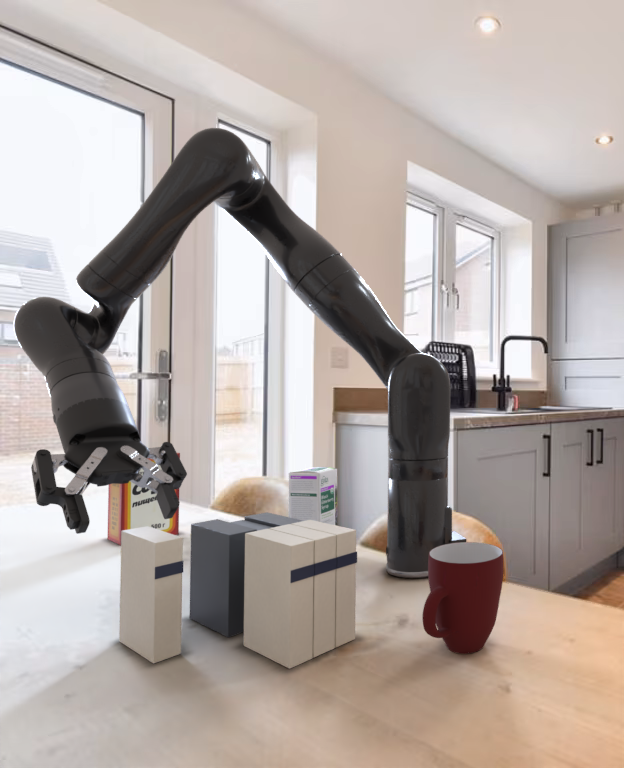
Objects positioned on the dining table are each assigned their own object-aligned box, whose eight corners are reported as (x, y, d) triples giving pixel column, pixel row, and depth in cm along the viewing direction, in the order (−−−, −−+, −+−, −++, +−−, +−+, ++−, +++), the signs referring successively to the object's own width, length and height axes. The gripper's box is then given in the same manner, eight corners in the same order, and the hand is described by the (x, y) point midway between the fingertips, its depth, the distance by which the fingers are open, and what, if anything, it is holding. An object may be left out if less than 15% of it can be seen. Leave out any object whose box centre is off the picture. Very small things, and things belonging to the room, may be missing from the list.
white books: (309, 620, 64) (310, 519, 65) (356, 639, 59) (357, 529, 60) (243, 645, 58) (244, 533, 58) (289, 669, 53) (291, 546, 53)
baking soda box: (164, 529, 108) (165, 448, 108) (178, 534, 104) (180, 451, 104) (107, 539, 100) (109, 452, 100) (120, 545, 96) (122, 455, 97)
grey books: (266, 593, 73) (267, 509, 73) (306, 609, 68) (307, 518, 68) (189, 618, 65) (190, 523, 65) (228, 637, 60) (229, 535, 60)
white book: (146, 632, 61) (148, 525, 61) (182, 653, 56) (184, 537, 56) (118, 641, 59) (120, 530, 59) (153, 664, 54) (155, 543, 54)
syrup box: (319, 562, 87) (320, 471, 87) (287, 559, 88) (288, 470, 88) (338, 552, 92) (339, 467, 93) (307, 549, 94) (308, 466, 94)
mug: (470, 683, 50) (470, 575, 51) (398, 665, 54) (399, 564, 54) (514, 637, 60) (515, 546, 60) (451, 624, 63) (452, 538, 64)
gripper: (26, 395, 60) (58, 511, 54) (166, 396, 72) (207, 491, 65) (12, 440, 63) (40, 556, 56) (148, 434, 75) (186, 529, 68)
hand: (130, 521), depth 61 cm, fingers open, 8 cm apart
